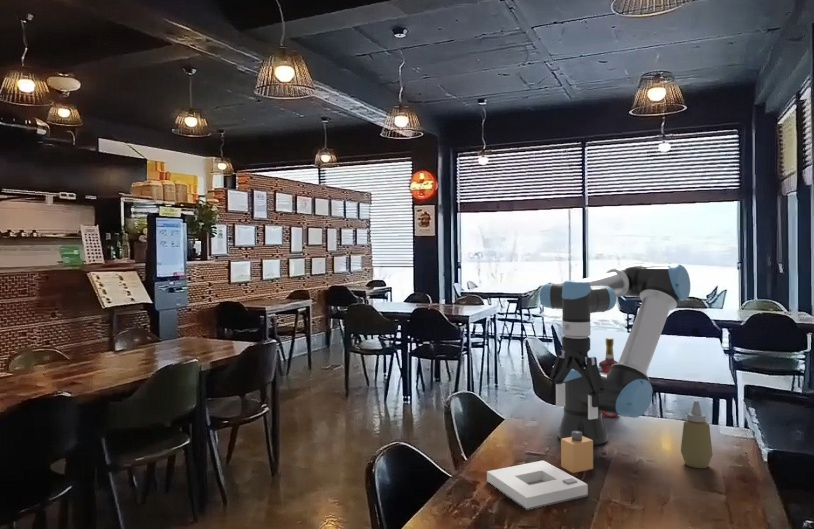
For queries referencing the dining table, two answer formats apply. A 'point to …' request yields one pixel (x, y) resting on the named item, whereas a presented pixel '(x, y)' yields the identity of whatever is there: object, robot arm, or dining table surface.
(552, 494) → the socket
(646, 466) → the dining table surface
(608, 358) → the liquor
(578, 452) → the plug
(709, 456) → the squeeze bottle
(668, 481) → the dining table surface
